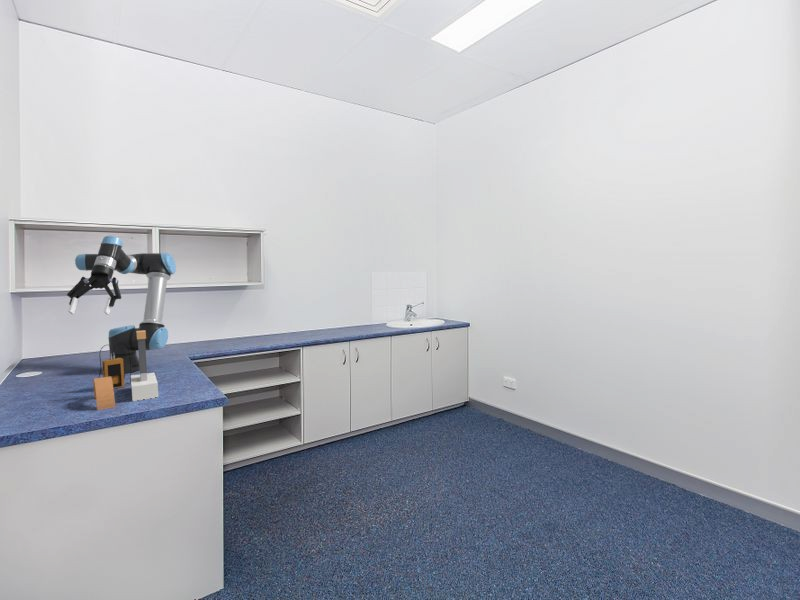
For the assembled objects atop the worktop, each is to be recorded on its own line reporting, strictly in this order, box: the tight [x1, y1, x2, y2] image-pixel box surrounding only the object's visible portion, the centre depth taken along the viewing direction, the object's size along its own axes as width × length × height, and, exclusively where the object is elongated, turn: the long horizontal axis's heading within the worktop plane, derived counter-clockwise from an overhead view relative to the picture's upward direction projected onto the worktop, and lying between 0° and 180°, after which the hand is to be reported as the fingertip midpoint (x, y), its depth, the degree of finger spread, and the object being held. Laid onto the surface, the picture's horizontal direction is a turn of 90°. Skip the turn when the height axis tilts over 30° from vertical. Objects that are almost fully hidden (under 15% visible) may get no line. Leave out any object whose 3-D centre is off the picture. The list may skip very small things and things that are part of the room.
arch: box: [93, 376, 116, 411], centre depth 170 cm, size 6×20×10 cm, turn 38°
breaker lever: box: [136, 330, 148, 374], centre depth 182 cm, size 5×3×20 cm
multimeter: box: [98, 343, 132, 389], centre depth 192 cm, size 15×10×20 cm
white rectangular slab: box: [130, 372, 159, 402], centre depth 182 cm, size 22×9×9 cm, turn 33°
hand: (88, 313), depth 176 cm, fingers open, 13 cm apart
